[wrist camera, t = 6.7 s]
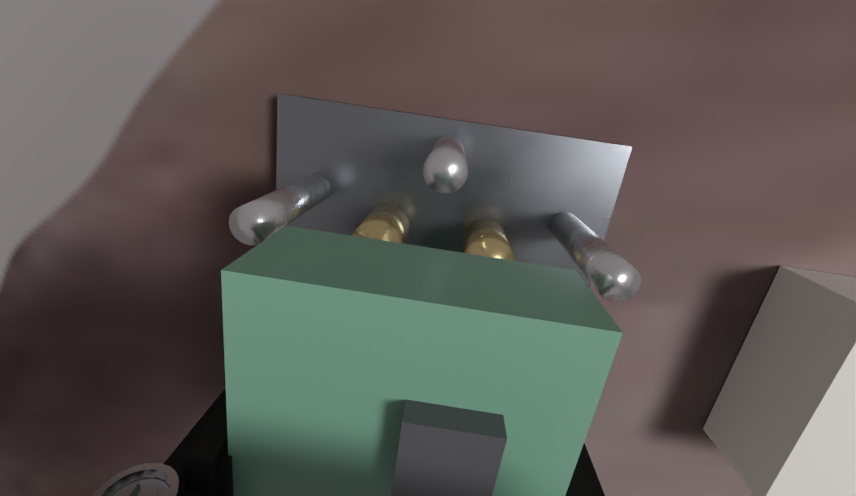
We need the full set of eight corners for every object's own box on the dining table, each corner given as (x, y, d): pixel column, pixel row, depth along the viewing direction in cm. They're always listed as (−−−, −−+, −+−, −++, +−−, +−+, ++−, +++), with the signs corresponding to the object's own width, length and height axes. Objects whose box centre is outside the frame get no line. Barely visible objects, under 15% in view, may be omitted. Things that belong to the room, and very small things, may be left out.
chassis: (526, 461, 19) (556, 609, 13) (282, 421, 19) (210, 551, 14) (620, 144, 14) (731, 167, 8) (289, 94, 14) (179, 84, 9)
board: (484, 587, 11) (493, 744, 9) (279, 553, 11) (222, 697, 9) (575, 270, 8) (640, 356, 5) (285, 225, 8) (195, 286, 5)
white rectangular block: (782, 441, 18) (860, 520, 14) (702, 428, 18) (760, 503, 14) (874, 280, 15) (996, 329, 12) (780, 265, 15) (874, 310, 12)
